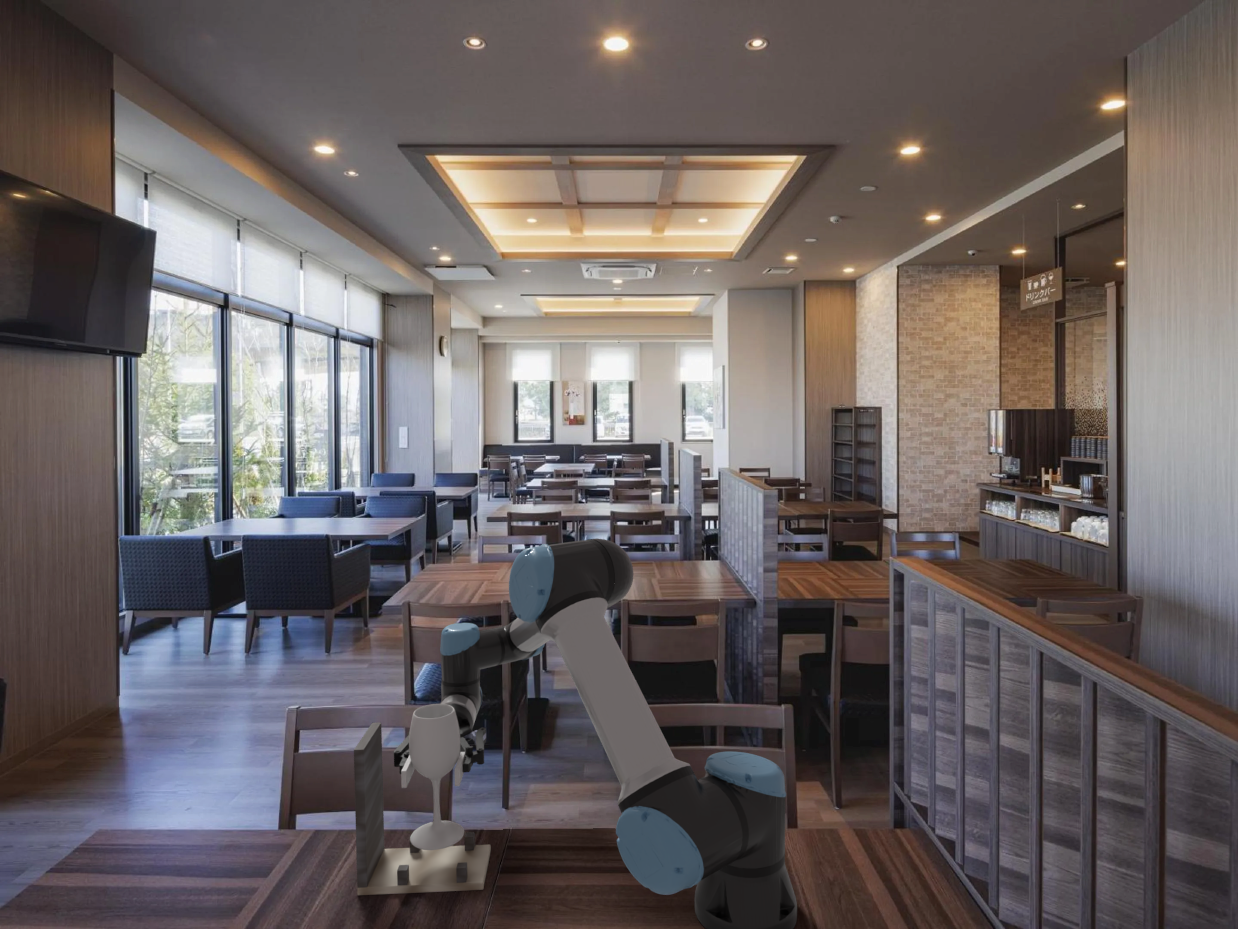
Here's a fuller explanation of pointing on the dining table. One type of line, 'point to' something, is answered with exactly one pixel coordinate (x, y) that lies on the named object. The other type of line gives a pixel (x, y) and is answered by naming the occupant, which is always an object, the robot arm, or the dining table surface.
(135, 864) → the dining table surface
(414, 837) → the wineglass
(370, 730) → the pegged display stand
